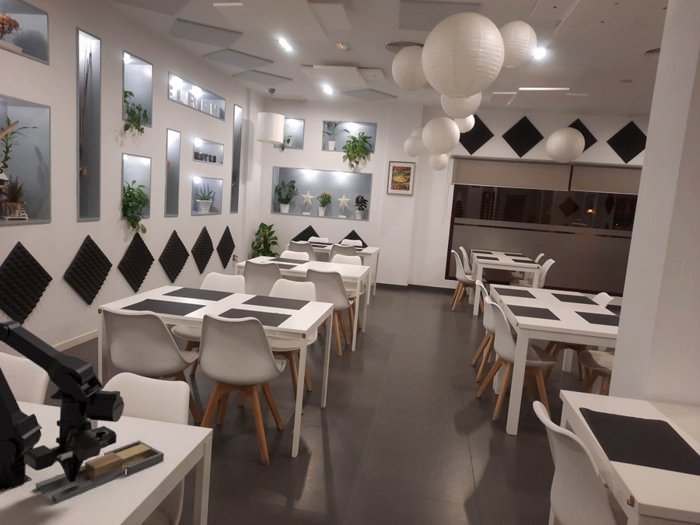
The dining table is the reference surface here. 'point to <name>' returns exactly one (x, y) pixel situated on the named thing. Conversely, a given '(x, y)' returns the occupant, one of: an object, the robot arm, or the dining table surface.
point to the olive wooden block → (127, 458)
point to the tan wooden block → (141, 452)
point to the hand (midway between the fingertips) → (71, 481)
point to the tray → (154, 459)
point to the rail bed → (74, 484)
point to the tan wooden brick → (102, 465)
